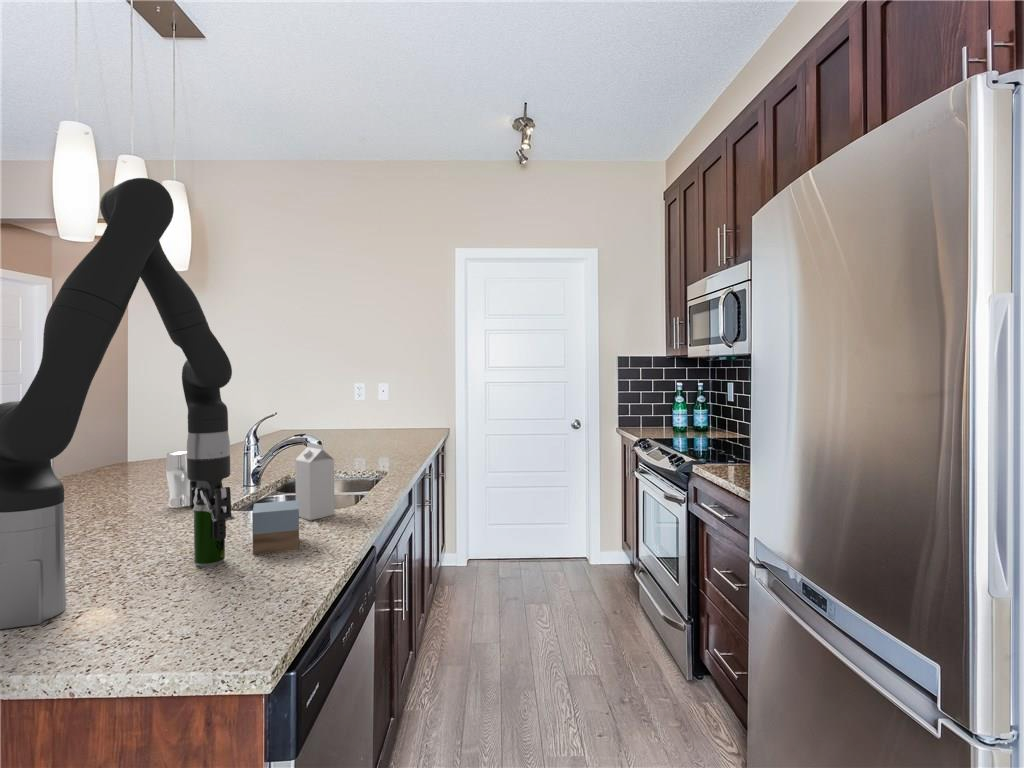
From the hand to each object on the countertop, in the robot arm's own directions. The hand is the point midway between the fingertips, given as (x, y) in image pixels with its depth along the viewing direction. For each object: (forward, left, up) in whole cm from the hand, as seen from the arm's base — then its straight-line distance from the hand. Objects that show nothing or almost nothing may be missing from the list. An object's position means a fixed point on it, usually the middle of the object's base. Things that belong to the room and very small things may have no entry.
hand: (210, 535), depth 111 cm
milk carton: (+31, -21, -6) cm, 38 cm away
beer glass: (+57, +14, -6) cm, 59 cm away
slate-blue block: (+7, -12, -1) cm, 14 cm away
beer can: (0, 0, -6) cm, 6 cm away
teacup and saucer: (+34, +3, -6) cm, 35 cm away
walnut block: (+7, -12, -6) cm, 15 cm away
